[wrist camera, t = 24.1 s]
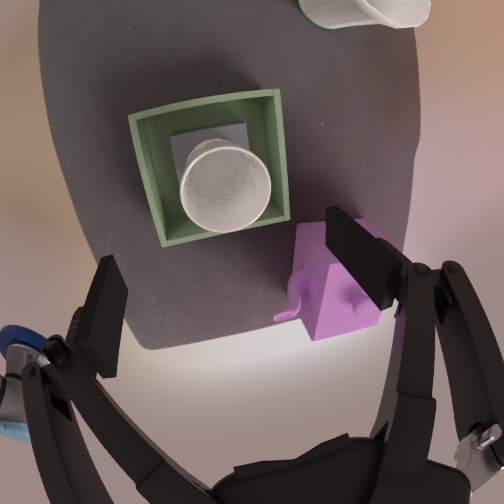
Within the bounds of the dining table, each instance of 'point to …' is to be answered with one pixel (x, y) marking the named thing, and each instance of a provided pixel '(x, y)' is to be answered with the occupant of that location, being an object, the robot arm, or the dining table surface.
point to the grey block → (190, 138)
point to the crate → (198, 115)
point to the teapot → (326, 287)
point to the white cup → (224, 186)
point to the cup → (365, 12)
